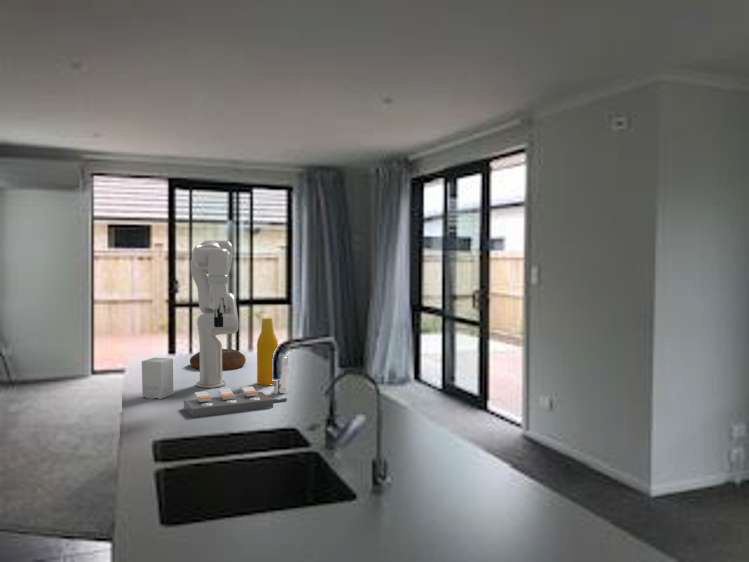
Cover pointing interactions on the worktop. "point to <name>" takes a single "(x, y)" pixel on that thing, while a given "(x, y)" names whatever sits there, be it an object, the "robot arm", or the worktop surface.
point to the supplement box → (157, 378)
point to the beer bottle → (266, 352)
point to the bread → (223, 359)
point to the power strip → (229, 404)
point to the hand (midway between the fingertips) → (218, 326)
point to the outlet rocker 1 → (226, 394)
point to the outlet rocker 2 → (249, 391)
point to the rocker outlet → (202, 396)
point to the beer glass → (282, 378)
